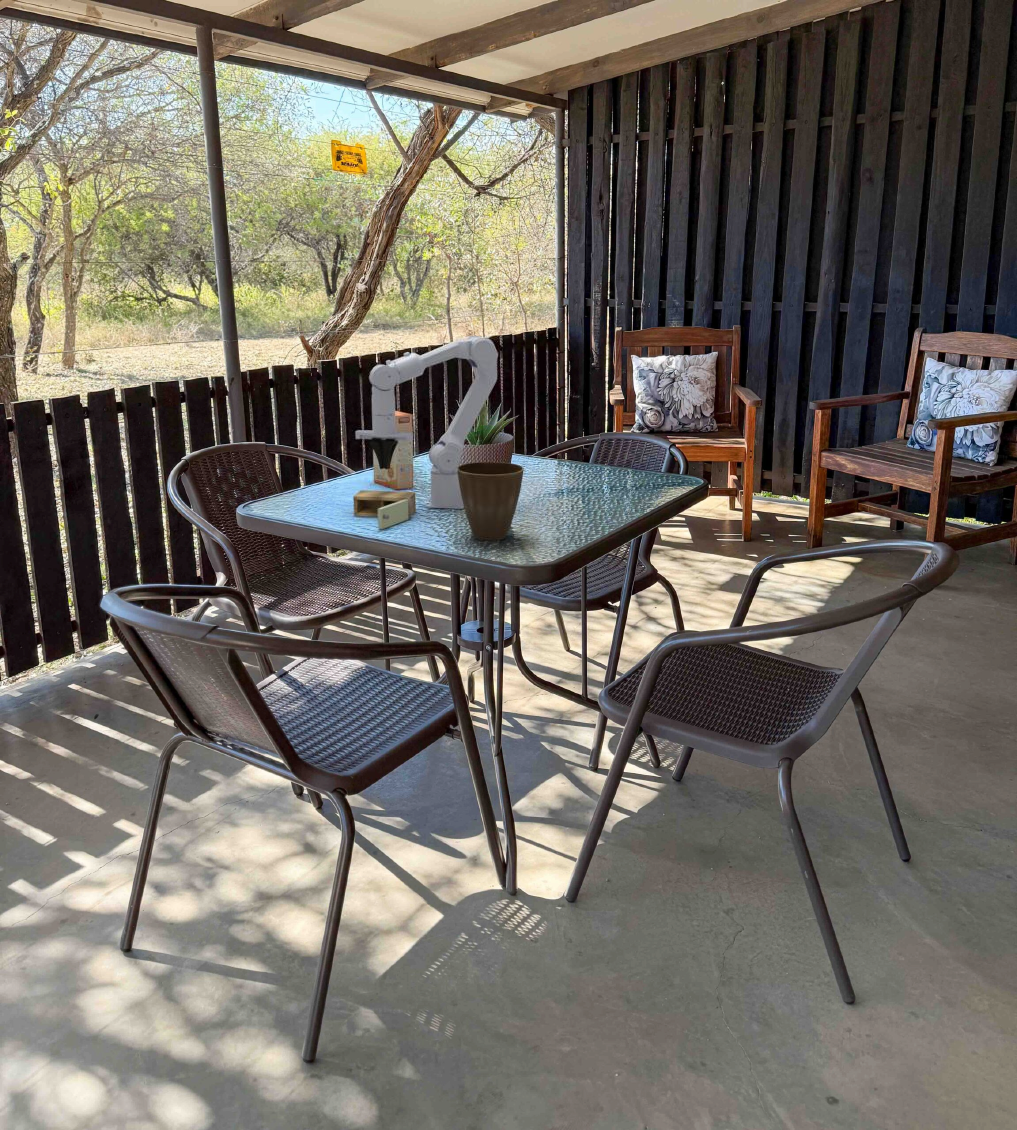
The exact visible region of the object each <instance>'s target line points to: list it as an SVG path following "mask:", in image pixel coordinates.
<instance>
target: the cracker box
mask: <svg viewBox="0 0 1017 1130" xmlns="http://www.w3.org/2000/svg"><path fill="white" fill-rule="evenodd" d="M413 423H414V421H413V414H411V413H406V412H402V411H398V410H395V425H396V431H398V432H406V433H413V430H414V428H413V427H414V426H413ZM413 434H414V433H413ZM384 438H390V437H384ZM372 458H373V459H372V461H373V462H372V463H373V483H376V484H379V485H381V486H384V487H386V488H387V487H388V488H390V489H392V490H396V491H398V490H399V491H400V490H408V488H410V489H413V488H414V440H413V441H411V442H407V441H398V444H397V446H396V448H395V450H394V453H393V456H392V459H391V464H390V468H389V469H385V468H384V469H380V467H379V462H378V459H377V456H376V454H375V452H374V450H373V449H372Z"/></svg>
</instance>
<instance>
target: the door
mask: <svg viewBox="0 0 1017 1130" xmlns="http://www.w3.org/2000/svg"><path fill="white" fill-rule="evenodd" d="M411 519H412V516H411V498H406V500H405V499H404V500H402V501H399V502H396V503H393V504H390V505H387V506H384V507H382V508H379V509H378V517H377V527H378V528H377V529H378V530H384V529H386V528H389V527H391V526H394V525H397V524H399V523H402V522H405V521H407V520H411Z"/></svg>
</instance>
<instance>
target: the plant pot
mask: <svg viewBox="0 0 1017 1130" xmlns="http://www.w3.org/2000/svg"><path fill="white" fill-rule="evenodd" d="M524 469H525V468H524V466H522V465H520V464H517V463H511V462H502V461H477V462H469V463H463V464H459V466H458V467H457V472H458V479H459V486H460V491H461V496H462V501H463V505H464V508H463V509H464V512H465V516H466V519H467V521H468V524H469V529H470V531H471V533H472V536H473V537H474V538H475V539H476V540H478V541H485V542H492V541H493V542H495V541H500V540H501V541H502V540H504V539H506V538H507V535H508V533H509V531H510V528H511V525H512V522H513V520H514V516H515V513H516V509H517V505H518V502H519V498H520V494H521V490H522V489H521V488H522V485H523V484H522V483H523V479H524V477H523V476H524V471H525V470H524Z"/></svg>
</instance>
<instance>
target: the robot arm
mask: <svg viewBox="0 0 1017 1130" xmlns="http://www.w3.org/2000/svg"><path fill="white" fill-rule="evenodd" d="M498 356H499V352H498V350H497V349H496V346H495V344H494V342H493V340H491V339H490V338H487V337H481V336H479V335H471V336H468V337H465V338H459V339H457V340H454V341H451V342H449V343H447V344H444V345H442V346H439V347H438V348H435V349H433V350H431V351H428V352H425V353H424V354H421V355H420V354H417V353H416V352H412V353H410V352H408V351H407V352H404V353H403V356H401V357H399V358H396V359H393V360H390V359H388V360H386V361H385V364H386V365H385V364H377V365H375V366H374V367H373V368H372V370H370V372H369V376H368V379H369V382H370V384H371V386H372V387H371V393H372V394H371V422H372V430H368V429H367V430H366V429H365V430H364V429H361V430H360V429H358V430H356V431H355V440H361V439H362V440H363V439H364V440H371V441H370V443H369V445H370V447H371V448H372V451H373V450H374V452H375V454H376V456H377V459H378V462H379V467H380V469H384V468H385V469H389V468H390V464H391V459H392V456H393V453H394V450H395V448H396V446H397V444H398V441H407V442H411V441H413V442H414V433H406V432H398V431H396V425H395V411H396V396H395V387H396V384H402V383H404V382H407V381H410V380H412V379H415V378H417V377H420V376H422V375H423V374H424V371H425V369H426V368H429V367H432V366H434V365H437V364H441V363H443V362H446V361H449V360H451V359H456V358H458V359H462V360H463V359H464V360H465V359H466V360H467V361H468V362H469V363H470V365H471V368H472V370H473V374H474V377H475V378H474V379H473V382H472V383H471V385H470V387H469V388H468V391H467V392H466V394H465V396H464V399H463V401H462V402H461V404H460V406H459V408H458V409H457V411H456V414H455V415H454V417H453V419H452V421H451V423H450V424H449V426H448V428H447V430H446V432H445V433H444V434H443V435H442V436H441V437H440V439H439V440H438V441H437V442H436V443H435V444H433V446H431V448H430V449H429V452H428V459H429V461H430V463H431V464H432V466H431V468H430V471H429V472H430V502H429V503H428V504H427V505H426V507H427V509H431V508H433V509H455V510H456V509H457V510H458V509H459V510H463V509H464V505H463V501H462V496H461V491H460V486H459V479H458V472H457V467H458V466H460V465H461V456H462V453H463V451H464V445H465V441H466V439H467V437H468V435H469V433H470V432H471V429H472V427H473V425H474V423H475V422H476V420H477V418H478V417H479V415H480V413H481V410H482V409H483V407H484V405H485V403H486V401H487V399H488V398H489V397H490V394H491V392H492V390H493V388H494V386H495V384H496V383H497V380H498V358H499V357H498ZM384 437H390V438H384Z"/></svg>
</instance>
